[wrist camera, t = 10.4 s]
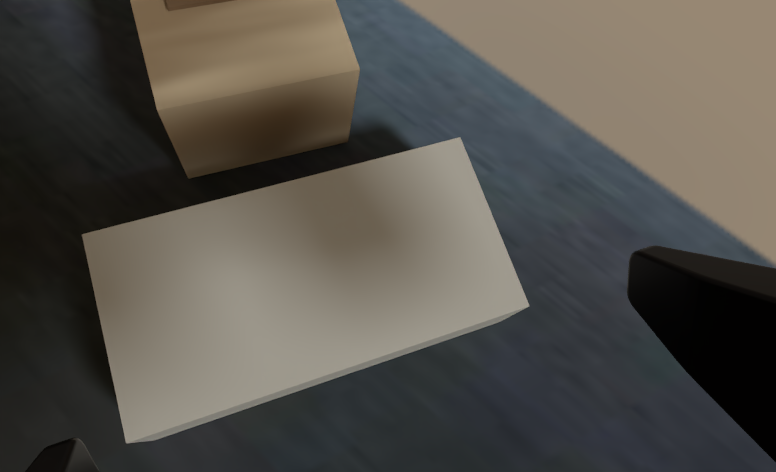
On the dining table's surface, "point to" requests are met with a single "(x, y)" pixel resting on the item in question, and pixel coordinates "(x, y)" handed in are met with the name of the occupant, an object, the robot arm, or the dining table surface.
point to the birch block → (247, 78)
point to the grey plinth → (295, 285)
